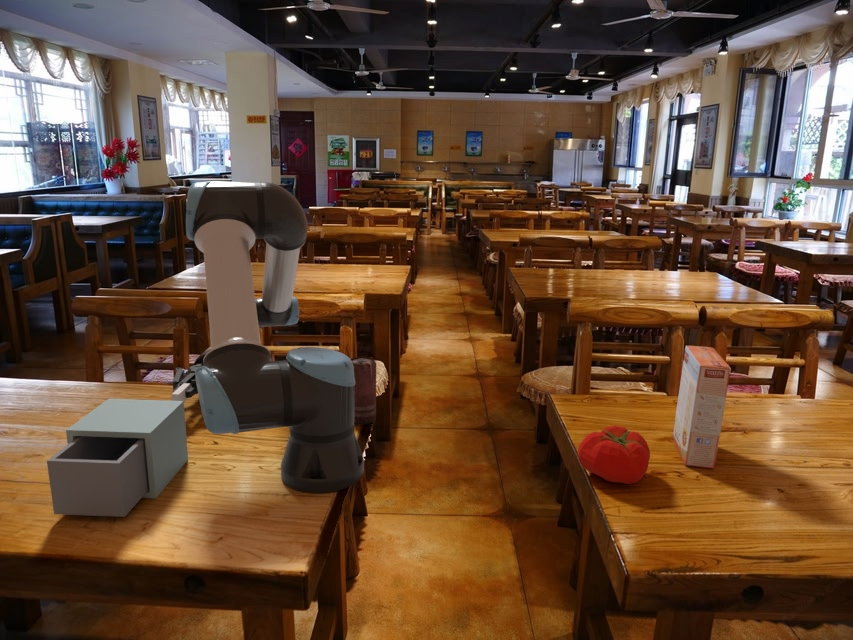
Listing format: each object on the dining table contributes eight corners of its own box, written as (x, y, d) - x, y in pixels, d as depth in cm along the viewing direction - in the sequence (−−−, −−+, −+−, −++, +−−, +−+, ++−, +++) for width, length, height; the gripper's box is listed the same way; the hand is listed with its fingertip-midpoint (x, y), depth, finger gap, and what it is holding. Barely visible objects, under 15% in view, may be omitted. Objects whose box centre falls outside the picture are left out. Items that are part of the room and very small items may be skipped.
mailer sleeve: (115, 457, 121) (108, 398, 118) (188, 459, 121) (183, 400, 118) (74, 495, 107) (65, 430, 104) (156, 498, 107) (150, 432, 104)
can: (363, 428, 137) (363, 366, 133) (342, 420, 141) (342, 360, 137) (382, 419, 142) (382, 359, 138) (361, 412, 145) (361, 353, 142)
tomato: (599, 499, 111) (604, 453, 109) (565, 465, 123) (569, 423, 120) (667, 490, 115) (673, 445, 112) (628, 458, 126) (633, 417, 124)
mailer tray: (127, 446, 123) (122, 401, 120) (184, 448, 123) (181, 403, 120) (54, 514, 100) (46, 460, 97) (124, 516, 99) (119, 463, 97)
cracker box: (716, 470, 122) (732, 367, 117) (683, 466, 123) (698, 364, 118) (701, 439, 136) (715, 346, 130) (671, 436, 137) (684, 343, 131)
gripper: (241, 379, 155) (207, 418, 132) (188, 377, 155) (145, 416, 133) (240, 350, 153) (205, 384, 131) (186, 348, 154) (142, 382, 131)
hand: (175, 400), depth 132 cm, fingers closed
